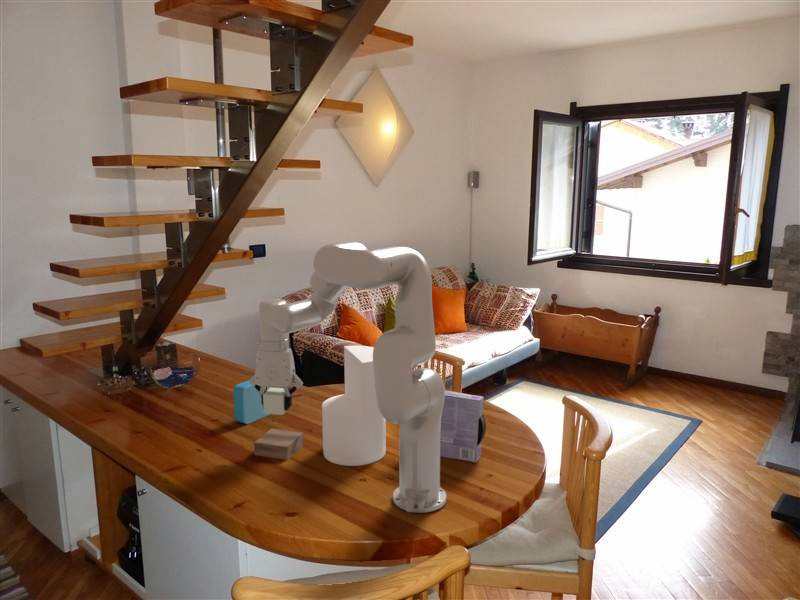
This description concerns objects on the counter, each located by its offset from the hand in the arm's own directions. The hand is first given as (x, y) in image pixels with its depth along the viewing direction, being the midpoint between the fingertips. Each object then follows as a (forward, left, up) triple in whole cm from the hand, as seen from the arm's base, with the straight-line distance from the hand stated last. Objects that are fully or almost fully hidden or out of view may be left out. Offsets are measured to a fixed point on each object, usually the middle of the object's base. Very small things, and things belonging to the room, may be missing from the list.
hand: (276, 407), depth 167 cm
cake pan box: (+4, -47, -13) cm, 49 cm away
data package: (+21, +16, -13) cm, 29 cm away
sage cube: (0, 0, -1) cm, 1 cm away
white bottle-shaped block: (+2, -21, -13) cm, 25 cm away
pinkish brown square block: (0, 0, -13) cm, 13 cm away
